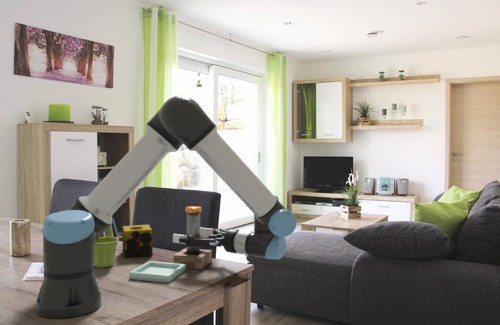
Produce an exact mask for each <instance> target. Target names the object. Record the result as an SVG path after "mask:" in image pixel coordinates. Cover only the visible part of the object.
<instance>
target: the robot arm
mask: <svg viewBox="0 0 500 325" xmlns="http://www.w3.org/2000/svg"><path fill="white" fill-rule="evenodd" d="M217 128H218V127H217V125H216V124H215V123H214V122H213V120H212V119H211V118H210V117H209V116H208V114H207V113H206V111H204V109H203V108H202V107H201V105H200V104H199V103H198V102H197V101H196V100H195V99H193V98H192V97H189V96H187V95H175V96H172V97H169V99H167V100H166V101H165V102H164V103H163V104H162V105H161V107H160V109H159V110H157V112H156V113H155V114H154V115H153V116H152V117H151V119H150V120H149V121H148V122H147V123H146V124H145V133H144V134H143V135H142V136H141V137H140V139H138V141H137V142H136V143H135V144H134V145H133V146H132V147H131V148H130V149H129V151H128V152H127V153H126V154H124V156H123V157H122V158H121V159H120V160H119V161H118V163H117V164H116V165H115V166H114V167H113V168H112V169H111V170H110V171H109V172H108V173H107V175H106V176H105V177H104V178H103V179H102V180H101V181H100V182H99V183H98V184H97V186H96V187H95V188H94V189H93V190H92V191H91V192H90V193H89V195H84V196H83V195H82V196H79V197H78V198H77V199H76V200H75V202H74V203H73V204H71V206H70V207H69V208H68V209H67V210H61V211H57V212H53V213H51V214H49V215H47V216H46V217H45V218H44V220H43V225H42V229H41V231H42V236H43V237H42V238H43V239H42V240H43V241H42V242H43V243H42V248H43V249H42V250H43V251H42V252H43V255H42V256H43V279H42V283H41V286H40V289H39V292H38V295H37V298H36V301H35V313H36V314H37V315H38V316H40V317H42V318H46V319H48V318H49V319H67V318H68V319H69V318H75V317H79V316H83V315H87V314H90V313H92V312H94V311H96V310H98V309H99V308H100V307H101V305H102V292H101V291H100V287H99V285H98V282H97V279H96V275H95V265H94V245H95V242H96V241H97V240H98V239H99V238H100V237H102V236H103V234H104V233H105V232H106V231H107V230H108V228H110V226H111V225H112V224H113V215H114V213H116V212H117V211H118V210H119V208H120V207H121V206H122V205H123V204H124V203H125V202H126V201H127V199H128V198H129V197H130V196H131V195H132V194H133V193H134V192H135V190H136V189H138V187H139V186H140V185H141V184H142V182H144V180H146V178H147V177H148V176H149V175H150V174H151V172H152V171H153V170H154V169H156V167H157V166H158V165H159V163H161V161H162V160H164V159H165V157H166V156H167V155H168V154H169V153H177V151H178V150H179V149H180V148H182V146H183V145H184V146H185V147H186V148H187V149H188V150H189V151H190V152H195V153H196V154H198V155H199V156H200V158H202V160H203V161H204V162H205V163H206V164H207V165H208V166H209V167H210V168H211V169H212V171H214V172H215V173H216V175H217V176H218V177H219V178H220V179H221V180H222V181H223V183H225V184H226V185H227V187H228V188H230V190H231V191H232V192H233V193H234V194H235V195H236V196H237V197H238V198H239V199H240V201H242V202H243V203H244V205H245V206H246V207H247V208H248V209H249V210H250V211H251V212H252V213H253V231H251V230H243V229H242V230H241V229H236V228H235V229H234V228H230V229H228V230H227V229H224V228H221V227H219V228H207V227H201V226H200V237H190V236H189V235H187V234H179V233H173V234H172V243H174V244H182V245H185V248H187V247H200V248H211V249H215V248H217V247H220V248H221V247H223V249H224V251H226V253H231V254H238V255H244V256H245V257H249V256H252V257H257V258H261V259H262V258H263V259H266V260H280V259H282V258H283V257H284V256H285V253H286V250H287V241H286V238H285V237H289V236H290V235H292V234H293V232H295V230H296V228H297V218H296V216H295V215H294V213H293V212H292V211H290V210H289V209H287V208H286V207H285V206H284V205H283V203H281V202H280V199H279V197H278V196H277V195H275V194H273V193H272V192H271V191H270V190H269V188H267V186H266V184H264V183H263V182H262V181H261V180H260V178H258V176H257V175H256V173H254V172H253V170H251V169H250V167H249V165H247V164H246V163H245V161H243V159H242V158H240V156H239V155H238V154H237V153H236V152H235V151H234V150H233V148H232V147H231V146H230V145H229V144H228V142H226V141H225V140H224V138H223V137H222V136H221V135H220V134H219V133H218V131H217Z"/></svg>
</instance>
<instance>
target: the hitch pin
mask: <svg viewBox="0 0 500 325" xmlns="http://www.w3.org/2000/svg"><path fill="white" fill-rule="evenodd" d="M185 213H186V235H189V236H190V237H201V235H200V227H201V213H202V206H193V205H191V206H186V207H185ZM186 248H187V254H189V255H199V254H200V249H201V247H186Z"/></svg>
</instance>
